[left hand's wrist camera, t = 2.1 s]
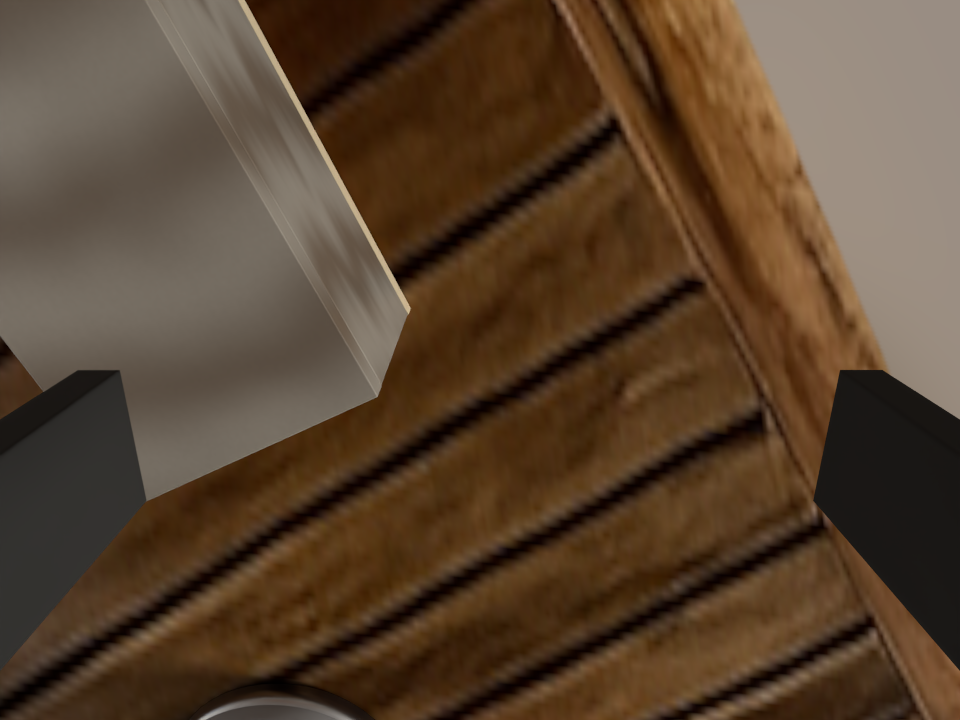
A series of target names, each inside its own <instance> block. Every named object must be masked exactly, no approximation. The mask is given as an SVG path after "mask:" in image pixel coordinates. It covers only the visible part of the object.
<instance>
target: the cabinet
mask: <svg viewBox="0 0 960 720" xmlns="http://www.w3.org/2000/svg"><path fill="white" fill-rule="evenodd" d="M410 309H411V308H410V306H409V304H408V303H407V301H406V299H405V297H404V295H403V293H402V291H401V290H400V288H399V286H398V284H397V282H396V280H395V278H394V277H393V275H392V273H391V271H390V269H389V267H388V265H387V264H386V262H385V260H384V258H383V256H382V254H381V252H380V251H379V249H378V247H377V245H376V243H375V241H374V239H373V238H372V236H371V234H370V232H369V230H368V228H367V226H366V225H365V223H364V221H363V219H362V217H361V215H360V213H359V212H358V210H357V208H356V206H355V204H354V202H353V200H352V199H351V197H350V195H349V193H348V191H347V189H346V187H345V186H344V184H343V182H342V180H341V178H340V176H339V174H338V173H337V171H336V169H335V167H334V165H333V163H332V161H331V160H330V158H329V156H328V154H327V152H326V150H325V148H324V147H323V145H322V143H321V141H320V139H319V137H318V135H317V134H316V132H315V130H314V128H313V126H312V124H311V122H310V121H309V119H308V117H307V115H306V113H305V111H304V109H303V108H302V106H301V104H300V102H299V100H298V98H297V96H296V95H295V93H294V91H293V89H292V87H291V85H290V83H289V82H288V80H287V78H286V76H285V74H284V72H283V70H282V69H281V67H280V65H279V63H278V61H277V59H276V57H275V56H274V54H273V52H272V50H271V48H270V46H269V44H268V43H267V41H266V39H265V37H264V35H263V33H262V31H261V30H260V28H259V26H258V24H257V22H256V20H255V18H254V17H253V15H252V13H251V11H250V9H249V7H248V5H247V4H246V2H245V0H0V336H1V337H2V339H3V340H4V341H5V343H6V344H7V345H8V346H9V348H10V349H11V350H12V352H13V353H14V354H15V355H16V357H17V358H18V359H19V361H20V362H21V363H22V364H23V366H24V367H25V368H26V370H27V371H28V372H29V373H30V375H31V376H32V377H33V379H34V380H35V381H36V382H37V384H38V385H39V386H40V388H41V389H42V390H43V391H46V390H47V389H49V388H51V387H52V386H54V385H55V384H57V383H58V382H60V381H61V380H63V379H65V378H66V377H68V376H69V375H71V374H72V373H74V372H76V371H77V370H120V373H121V378H122V383H123V388H124V393H125V398H126V403H127V407H128V412H129V417H130V422H131V427H132V432H133V437H134V441H135V446H136V451H137V456H138V461H139V466H140V471H141V476H142V480H143V485H144V490H145V495H146V500H147V501H148V500H150V499H152V498H155V497H157V496H159V495H161V494H163V493H166V492H168V491H170V490H172V489H175V488H177V487H179V486H181V485H183V484H186V483H188V482H190V481H192V480H194V479H197V478H199V477H201V476H203V475H206V474H208V473H210V472H212V471H214V470H217V469H219V468H221V467H223V466H225V465H228V464H230V463H232V462H234V461H236V460H239V459H241V458H243V457H245V456H248V455H250V454H252V453H254V452H256V451H259V450H261V449H263V448H265V447H267V446H270V445H272V444H274V443H276V442H279V441H281V440H283V439H285V438H287V437H290V436H292V435H294V434H296V433H298V432H301V431H303V430H305V429H307V428H309V427H312V426H314V425H316V424H318V423H321V422H323V421H325V420H327V419H329V418H332V417H334V416H336V415H338V414H340V413H343V412H345V411H347V410H349V409H352V408H354V407H356V406H358V405H360V404H363V403H365V402H367V401H369V400H371V399H374V398H376V397H377V396H378V394H379V391H380V389H381V384H382V382H383V379H384V376H385V374H386V371H387V368H388V366H389V363H390V360H391V357H392V355H393V352H394V349H395V347H396V344H397V341H398V339H399V336H400V333H401V330H402V328H403V325H404V322H405V320H406V317H407V315H408V314H409V312H410Z"/></svg>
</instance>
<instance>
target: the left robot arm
mask: <svg viewBox="0 0 960 720" xmlns="http://www.w3.org/2000/svg"><path fill="white" fill-rule="evenodd" d="M146 501H147V500H146V495H145V490H144V485H143V480H142V476H141V471H140V466H139V461H138V456H137V451H136V446H135V441H134V437H133V432H132V427H131V422H130V417H129V412H128V407H127V403H126V398H125V393H124V388H123V383H122V378H121V373H120V370H77V371H76V372H74V373H72V374H71V375H69V376H68V377H66V378H65V379H63V380H61V381H60V382H58V383H57V384H55V385H54V386H52V387H51V388H49V389H47V390H46V391H44V392H43V393H41V394H40V395H38V396H36V397H35V398H33V399H32V400H30V401H29V402H27V403H25V404H24V405H22V406H21V407H19V408H18V409H16V410H14V411H13V412H11V413H10V414H8V415H7V416H5V417H4V418H2V419H0V670H1V669H2V668H3V667H4V666H5V664H6V663H7V662H8V661H9V660H10V659H11V657H12V656H13V655H14V654H15V653H16V652H17V650H18V649H19V648H20V647H21V646H22V645H23V644H24V642H25V641H26V640H27V639H28V638H29V637H30V635H31V634H32V633H33V632H34V631H35V630H36V628H37V627H38V626H39V625H40V624H41V623H42V621H43V620H44V619H45V618H46V617H47V616H48V614H49V613H50V612H51V611H52V610H53V609H54V608H55V606H56V605H57V604H58V603H59V602H60V601H61V599H62V598H63V597H64V596H65V595H66V594H67V592H68V591H69V590H70V589H71V588H72V587H73V585H74V584H75V583H76V582H77V581H78V580H79V578H80V577H81V576H82V575H83V574H84V573H85V572H86V570H87V569H88V568H89V567H90V566H91V565H92V563H93V562H94V561H95V560H96V559H97V558H98V556H99V555H100V554H101V553H102V552H103V551H104V549H105V548H106V547H107V546H108V545H109V544H110V542H111V541H112V540H113V539H114V538H115V537H116V536H117V534H118V533H119V532H120V531H121V530H122V529H123V527H124V526H125V525H126V524H127V523H128V522H129V520H130V519H131V518H132V517H133V516H134V515H135V513H136V512H137V511H138V510H139V509H140V508H141V506H142V505H143V504H144V503H145V502H146ZM813 501H814V502H815V503H816V504H817V505H818V506H819V508H820V509H821V510H822V511H823V512H824V513H825V515H826V516H827V517H828V518H829V519H830V520H831V522H832V523H833V524H834V525H835V526H836V527H837V529H838V530H839V531H840V532H841V533H842V534H843V536H844V537H845V538H846V539H847V540H848V541H849V542H850V544H851V545H852V546H853V547H854V548H855V549H856V551H857V552H858V553H859V554H860V555H861V556H862V558H863V559H864V560H865V561H866V562H867V563H868V565H869V566H870V567H871V568H872V569H873V570H874V572H875V573H876V574H877V575H878V576H879V577H880V578H881V580H882V581H883V582H884V583H885V584H886V585H887V587H888V588H889V589H890V590H891V591H892V592H893V594H894V595H895V596H896V597H897V598H898V599H899V601H900V602H901V603H902V604H903V605H904V606H905V608H906V609H907V610H908V611H909V612H910V613H911V614H912V616H913V617H914V618H915V619H916V620H917V621H918V623H919V624H920V625H921V626H922V627H923V628H924V630H925V631H926V632H927V633H928V634H929V635H930V637H931V638H932V639H933V640H934V641H935V642H936V644H937V645H938V646H939V647H940V648H941V649H942V650H943V652H944V653H945V654H946V655H947V656H948V657H949V659H950V660H951V661H952V662H953V663H954V664H955V666H956V667H957V668H958V669H959V670H960V419H958V418H956V417H955V416H953V415H952V414H950V413H949V412H947V411H945V410H944V409H942V408H941V407H939V406H938V405H936V404H935V403H933V402H931V401H930V400H928V399H927V398H925V397H924V396H922V395H920V394H919V393H917V392H916V391H914V390H913V389H911V388H909V387H908V386H906V385H905V384H903V383H902V382H900V381H899V380H897V379H895V378H894V377H892V376H891V375H889V374H888V373H886V372H884V371H883V370H840V373H839V378H838V383H837V388H836V393H835V398H834V403H833V407H832V412H831V417H830V422H829V427H828V432H827V437H826V441H825V446H824V451H823V456H822V461H821V466H820V471H819V476H818V480H817V485H816V490H815V495H814V500H813ZM189 720H374V719H373V718H372V717H371V716H370V715H369V714H367V713H366V712H365V711H363V710H362V709H361V708H359V707H358V706H356V705H354V704H353V703H351V702H349V701H347V700H345V699H343V698H341V697H339V696H336V695H334V694H331V693H329V692H326V691H322V690H319V689H315V688H311V687H306V686H300V685H293V684H260V685H253V686H247V687H243V688H239V689H236V690H233V691H230V692H227V693H225V694H222V695H220V696H218V697H216V698H214V699H213V700H211V701H209V702H208V703H206V704H205V705H204V706H202V707H201V708H200V709H199V710H198V711H197V712H195V714H194V715H193V716H192V717H191V718H190V719H189Z"/></svg>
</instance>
